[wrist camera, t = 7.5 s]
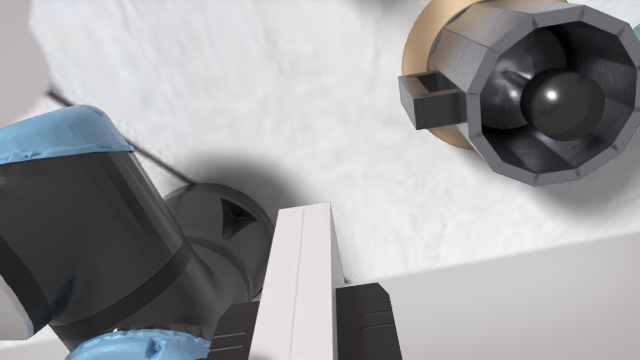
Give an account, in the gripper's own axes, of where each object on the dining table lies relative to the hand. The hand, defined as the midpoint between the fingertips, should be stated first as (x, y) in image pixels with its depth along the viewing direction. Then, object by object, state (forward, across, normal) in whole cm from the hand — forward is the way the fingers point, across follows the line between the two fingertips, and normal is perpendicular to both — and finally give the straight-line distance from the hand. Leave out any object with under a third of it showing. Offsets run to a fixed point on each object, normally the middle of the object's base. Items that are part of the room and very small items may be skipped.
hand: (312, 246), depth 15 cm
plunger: (+30, +16, -3) cm, 35 cm away
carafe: (+35, +16, -3) cm, 39 cm away
